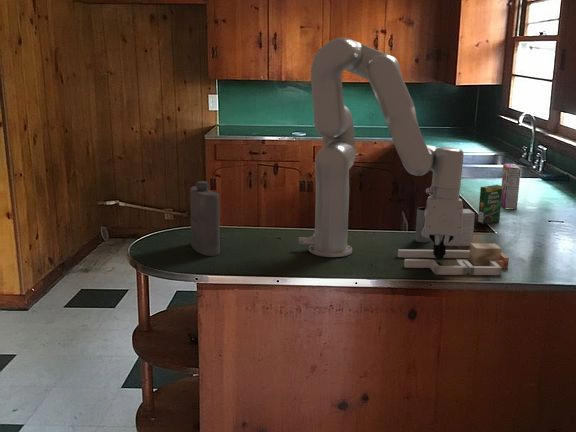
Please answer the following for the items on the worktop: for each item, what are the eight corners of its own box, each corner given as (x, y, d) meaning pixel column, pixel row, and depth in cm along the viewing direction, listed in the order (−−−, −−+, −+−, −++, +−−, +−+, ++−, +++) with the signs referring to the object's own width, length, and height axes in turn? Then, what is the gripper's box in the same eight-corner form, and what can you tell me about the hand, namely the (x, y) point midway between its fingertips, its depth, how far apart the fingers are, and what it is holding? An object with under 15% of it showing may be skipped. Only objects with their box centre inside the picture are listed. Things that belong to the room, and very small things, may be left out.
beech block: (474, 265, 170) (476, 248, 169) (469, 260, 175) (470, 243, 174) (499, 266, 170) (501, 248, 169) (493, 260, 175) (495, 243, 174)
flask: (186, 243, 186) (185, 178, 181) (205, 241, 188) (204, 177, 184) (202, 257, 173) (201, 187, 168) (222, 255, 175) (221, 185, 171)
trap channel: (409, 274, 161) (410, 263, 161) (397, 256, 177) (398, 246, 176) (515, 275, 162) (516, 264, 161) (494, 257, 178) (495, 247, 177)
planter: (417, 238, 197) (420, 206, 194) (431, 240, 194) (434, 208, 192) (413, 241, 193) (415, 209, 190) (427, 243, 190) (429, 210, 188)
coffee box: (482, 224, 216) (486, 187, 213) (476, 222, 218) (480, 186, 215) (499, 222, 219) (503, 185, 216) (493, 220, 222) (497, 184, 219)
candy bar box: (498, 203, 251) (502, 163, 247) (511, 203, 250) (515, 163, 246) (503, 209, 240) (507, 167, 236) (517, 209, 239) (521, 168, 235)
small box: (466, 241, 194) (469, 208, 191) (472, 246, 188) (475, 212, 186) (441, 241, 193) (444, 208, 191) (446, 246, 188) (449, 212, 186)
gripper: (421, 195, 164) (415, 261, 168) (476, 197, 164) (469, 262, 169) (414, 189, 171) (409, 252, 175) (468, 191, 171) (461, 254, 176)
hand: (438, 257), depth 172 cm, fingers closed
